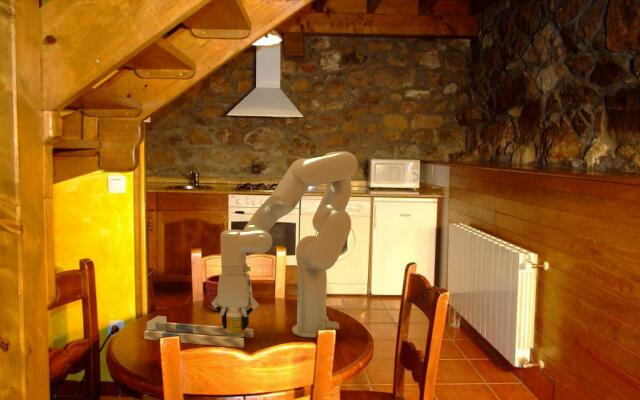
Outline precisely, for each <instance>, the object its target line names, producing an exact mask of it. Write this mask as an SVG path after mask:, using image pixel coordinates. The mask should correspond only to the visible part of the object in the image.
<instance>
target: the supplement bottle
mask: <svg viewBox="0 0 640 400" xmlns="http://www.w3.org/2000/svg"><path fill="white" fill-rule="evenodd" d="M228 309H229V311H227V313H226V323H227V336H226V337H234V338H242V337H241V336H243V335H244V330H243V329H242V317H243V313H242V310H241V308H237V307H228Z"/></svg>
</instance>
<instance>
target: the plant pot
mask: <svg viewBox="0 0 640 400" xmlns="http://www.w3.org/2000/svg"><path fill="white" fill-rule="evenodd" d="M219 277H220V274H215V275H214V274H213V275H211V276H208V277H207V278H205V290H206V296H207V299H208V300H209V301H208V302H209V303H208V307H209V309H210V310H212V311H214V312H218V311H217V310H216V308H215V307H213V306H212V305H211V303H212V302H213V300H214V299H215V298H216V297H217V295H218V283H219ZM228 311H229V309H228V310H227V312H228Z"/></svg>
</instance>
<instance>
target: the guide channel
mask: <svg viewBox="0 0 640 400" xmlns="http://www.w3.org/2000/svg"><path fill="white" fill-rule="evenodd" d="M143 331H144V330H143ZM143 334H144V336H143V337H144V340H146V339H148V340H149V341H158V340H159V338H160V337H167V336H176V335H179V336H180V340H181V342H180V343H184V344H194V345H195V344H196V345H208V346H210V345H211V346H220V347H230V348H231V347H232V348H244V347H245V338H248V339H249V338H251V339H252V338H254V329H253V328H246V329H245V330H244V335H243V336H241V337H238V338H234V337H228V336H227V328H225V329H223V326H217V325H205V324H204V325H203V324H194V323H193V324H192V323H191V324H190V323H179V322H178V323H177V322H167V316H166V315H156V316H155V317H153V318H152V319H150V320H148V321H146V330H145V331H144V333H143Z"/></svg>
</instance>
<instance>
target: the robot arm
mask: <svg viewBox="0 0 640 400" xmlns="http://www.w3.org/2000/svg"><path fill="white" fill-rule="evenodd" d="M358 162H359V161H358V160H357V158H356V156H355V155H354V154H353V153H351V152H349V151H331V152H328V153H325V154H324V155H323V156H319V157H310V158H299V159H296V160H295V161H293V162H292V164H291V165H290V166H289V168H288V169H287V170H286V172H285V174H284V175H283V177H282V179H281V180H280V181H279V182H278V184H277V186H276V187H275V189H274V190H273V191H272V193H271V194H270V196H269V197H268V198H267V199H265V201H264V202H263V203H262V204H261V205H260V206H259V207H258V209H256V211H255V212H254V214H253V215H252V216H251V218H250V219H249V221H248V222H247V224H246V225H245V226H244V228H243V230H242V229H227V230H223V231H222V232H221V233H220V262H221V264H220V265H221V269H220V270H221V273H220V274H219V275H220V277H219V283H218V295H217V297H216V298H215V299H214V300H213V302H212V303H211V305H212V306H213V307H215V308H216V310H217V311H216V312H218V314H219V315H220V316H221V325H222V327H223V329H225V328H227V323H226V313H227V312H228V311H227V310H228V307H237V308H241V310H242V313H243V317H242V329H243V330H245V329H248V326H249V325H250V322H249V321H250V319H249V318H250V317H249V315H250V314H251V313H252V312H253V311H254V310H255V309H257V308H258V307H259V306H260V305H259V303H258V301H257V300H256V299H255V298H254V296H253V289H252V281H251V277H250V273H248V272H251V269H252V267H251V266H248V264H247V254H257V255H258V254H263V253H266V252H268V251H269V250H270V249H271V248H272V246H273V238H272V235H271V234H270V230H271V229H272V227H273V226H274V225H275V224H276V223H277V222H278V221H279V220H280V219H281V218H283V217H285V216H286V215H288V214H290V213H292V212H293V211H294V210H295V209H296V207H297V205H298V204H299V202H300V201H301V199H302V197H303V196H304V195H305V193H306V192H307V190H308V189H309V188H310V187H315V186H321V185H326V186H325V190H324V192H323V196H322V197H321V200H320V202H319V205H318V207H317V208H316V211H315V212H314V215H313V217H312V221H311V222H312V228H314V231H316V232H317V234H316V235H307V236H304V237H302V238H301V239H300V240H299V241H298V243H297V244H296V249H295V259H296V265H297V266H296V267H297V291H296V292H297V295H296V296H297V300H296V301H297V302H296V303H297V305H296V306H297V307H296V308H297V311H296V312H297V313H296V320H297V321H296V323H297V324H295V325H293V327H292V330H291V331H292V333H293V334H294V335H296V336H298V337H301V338H317V337H316V335H317V330H318V329H331V330H332V329H333V330H340V323H339V322H337V321H331V320H329V316H327V294H328V293H327V289H328V288H327V287H328V286H327V284H328V279H327V278H328V277H327V271H328V270H330V269H331V268H332V267H333V266H335V264H336V262H338V259H339V258H340V255H341V253H342V251H343V250H344V249H343V248H344V246H345V245H346V242H347V240H348V238H349V235H350V234H351V233H350V232H351V229H352V219H351V216H350V215H349V213H348V212H347V211H346V209H347V206H348V204H349V201H350V200H351V199H350V198H351V195H352V188H353V187H352V180H351V177H353V176H354V175H355V174H356V172H357V170H358V167H359V166H358V165H359V164H358ZM249 305H251V306H250V307H249Z"/></svg>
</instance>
